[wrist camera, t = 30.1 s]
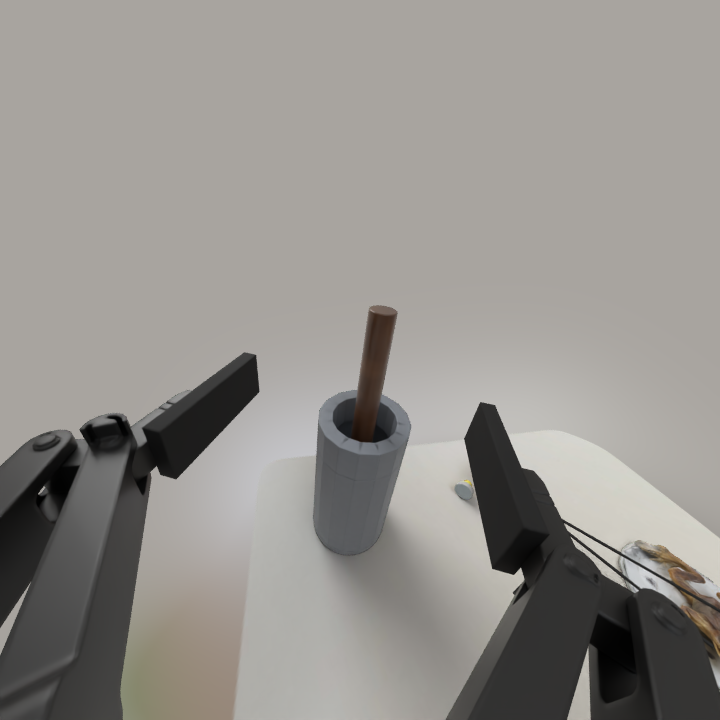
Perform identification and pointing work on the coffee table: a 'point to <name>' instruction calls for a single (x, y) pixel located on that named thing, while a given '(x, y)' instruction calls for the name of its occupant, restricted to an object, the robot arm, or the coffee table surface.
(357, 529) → the cylindrical container
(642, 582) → the frog figurine
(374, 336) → the long brown dowel rod
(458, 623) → the coffee table surface
